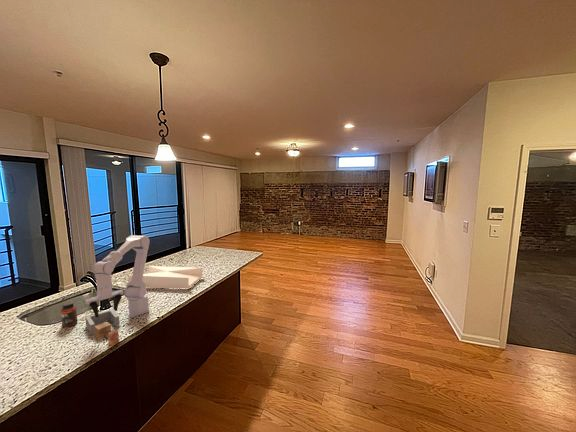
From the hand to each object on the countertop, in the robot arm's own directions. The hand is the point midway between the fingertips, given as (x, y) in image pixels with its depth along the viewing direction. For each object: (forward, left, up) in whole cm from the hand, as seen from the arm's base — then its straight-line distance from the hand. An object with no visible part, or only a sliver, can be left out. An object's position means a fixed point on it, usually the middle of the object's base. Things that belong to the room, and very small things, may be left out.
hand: (106, 313), depth 118 cm
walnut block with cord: (+1, +5, -10) cm, 11 cm away
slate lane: (0, -8, -10) cm, 13 cm away
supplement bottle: (+11, -23, -10) cm, 28 cm away
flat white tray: (-47, -45, -11) cm, 66 cm away
